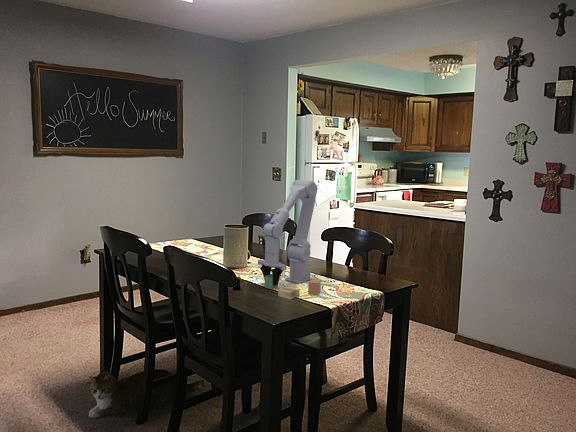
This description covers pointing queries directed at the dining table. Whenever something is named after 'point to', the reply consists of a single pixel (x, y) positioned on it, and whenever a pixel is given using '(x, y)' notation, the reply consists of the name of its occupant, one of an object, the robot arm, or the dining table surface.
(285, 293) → the maple block
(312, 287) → the terracotta block
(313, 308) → the dining table surface
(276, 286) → the teal block
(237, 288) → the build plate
